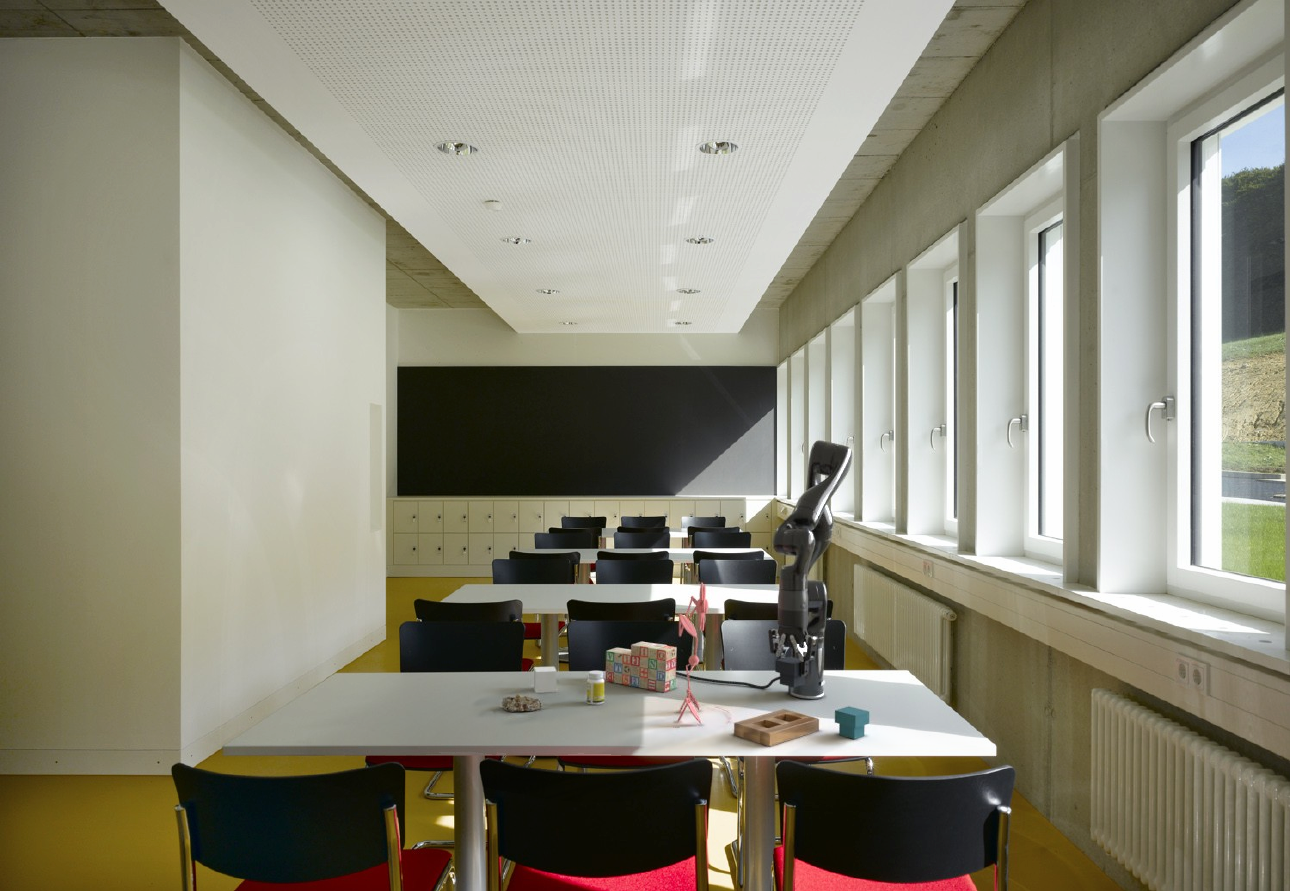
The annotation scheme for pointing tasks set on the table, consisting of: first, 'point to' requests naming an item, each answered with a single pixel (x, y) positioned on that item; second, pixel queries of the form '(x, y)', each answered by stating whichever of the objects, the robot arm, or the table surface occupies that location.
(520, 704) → the mineral rock
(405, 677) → the table surface
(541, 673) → the white cube
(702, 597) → the figurine
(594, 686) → the supplement bottle
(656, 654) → the stack of blocks
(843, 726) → the teal stepped block
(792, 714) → the block
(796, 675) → the dark grey cube
